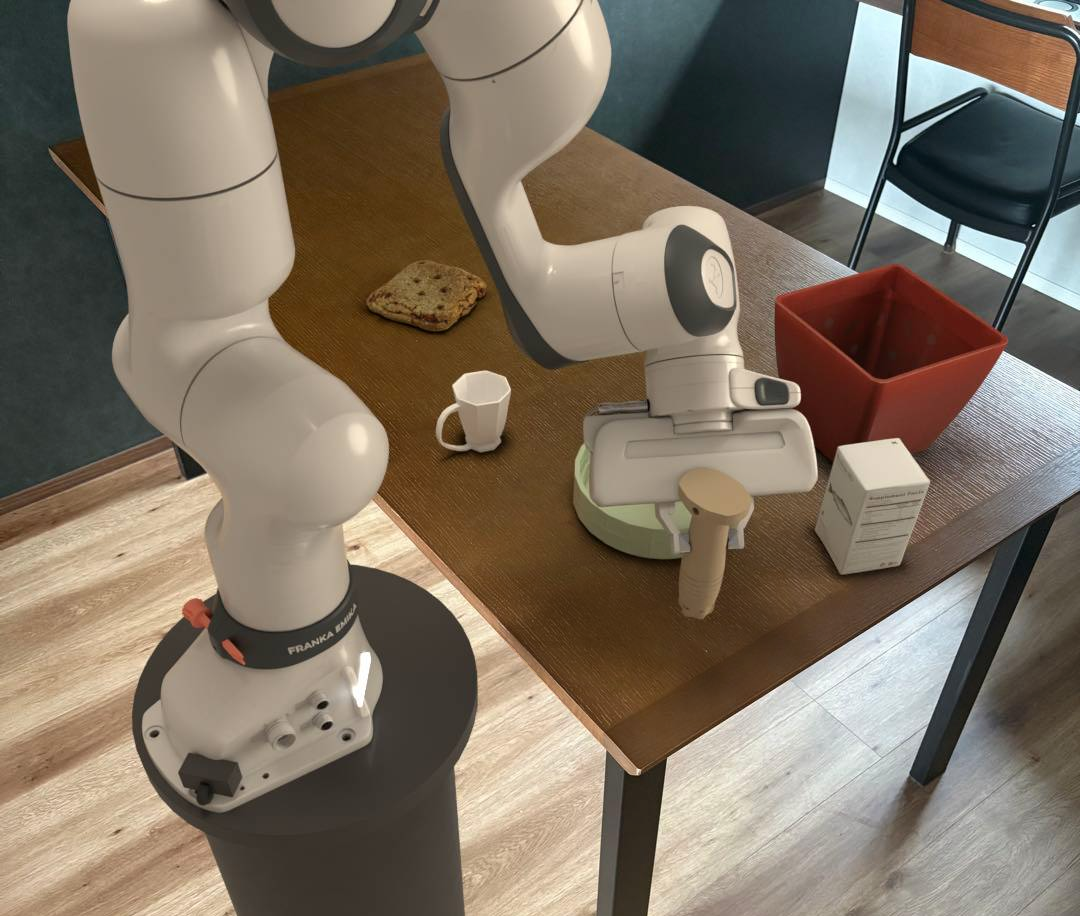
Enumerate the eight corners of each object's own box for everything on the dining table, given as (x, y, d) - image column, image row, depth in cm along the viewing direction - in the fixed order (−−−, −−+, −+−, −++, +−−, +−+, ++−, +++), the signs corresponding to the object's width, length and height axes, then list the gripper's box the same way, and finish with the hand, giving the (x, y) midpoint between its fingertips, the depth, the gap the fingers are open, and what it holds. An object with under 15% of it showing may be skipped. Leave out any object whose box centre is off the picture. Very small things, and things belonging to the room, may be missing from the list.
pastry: (474, 264, 162) (474, 246, 160) (499, 327, 150) (499, 308, 148) (359, 277, 159) (357, 258, 157) (375, 342, 147) (373, 323, 145)
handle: (686, 577, 105) (705, 460, 95) (737, 614, 102) (762, 497, 91) (653, 602, 103) (668, 485, 92) (704, 641, 100) (725, 523, 89)
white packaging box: (812, 530, 122) (835, 443, 113) (873, 522, 123) (901, 435, 114) (838, 577, 116) (864, 490, 108) (902, 567, 118) (933, 480, 109)
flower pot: (867, 373, 143) (899, 259, 132) (969, 456, 131) (1013, 339, 120) (748, 411, 137) (771, 296, 125) (844, 503, 125) (878, 384, 113)
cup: (523, 444, 132) (523, 390, 126) (456, 476, 127) (453, 422, 122) (489, 416, 136) (488, 362, 130) (422, 446, 131) (418, 392, 125)
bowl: (661, 589, 115) (665, 556, 111) (538, 498, 125) (539, 465, 121) (774, 507, 124) (781, 474, 121) (652, 429, 134) (655, 396, 131)
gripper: (585, 399, 92) (597, 560, 92) (817, 384, 94) (829, 542, 94) (576, 408, 98) (587, 559, 98) (794, 394, 100) (805, 543, 100)
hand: (707, 551), depth 96 cm, fingers closed on handle, 3 cm apart
